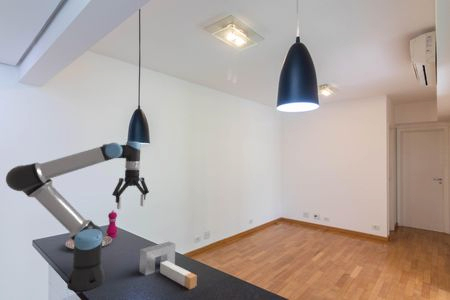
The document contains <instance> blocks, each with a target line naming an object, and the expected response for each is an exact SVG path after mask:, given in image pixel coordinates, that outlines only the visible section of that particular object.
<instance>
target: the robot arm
mask: <svg viewBox="0 0 450 300" xmlns="http://www.w3.org/2000/svg"><path fill="white" fill-rule="evenodd" d="M114 159H125V165H124V166H125V170H124V178H123V177H120V178H118V183H117V184H116V186H115V188H114V190H113V192H112V195H111V196H113V197H115V203H116V209H117V210H121V209H122V197H121V195H122V194H123V193H124V192H125V190H126V189H127V188H128V187H132V186H133V187H136V188H137V190H138V191H140V193H141V194H140V200H139V201H140V203H139V204H140V206H141V207H145V200H146V197H147V195H148V194H149V192H150V190H149V189H148V187H147V184H146V182H145V177H140V167H141V166H140V162H141V142H139V141H126V143H125V144H119V143H118V142H110V143H104V144H102V145H101V146H98V147H97V146H96V147H94V148H91V149H87V150H83V151H81V152H78V153H74V154H70V155H67V156H63V157H60V158H59V157H58V158H56V159H53V160H49V161H46V162H43V163H39V162H34V163H29V164H25V165H23V164H22V165H17V166H15V167H13V168H11V169H10V170H9V171H8V172H7V173H6V176H5V182H6V185H7V186H8V187H9V188H10V189H12V190H13V191H17V192H23V193H24V194H25V195H26V196H27V197H28V198H35V200H36V201H37V202H38V203H40V204H41V206H43V207H44V209H45V210H46V211H48V212H49V214H51V215H52V216H53V217H54V218H55V219H56V220H57V221H58V222H59V223H60V224H61V225H62V226H63V227H64V228H65V229H66V230H67V231H68V232H69V239H70V240H71V239H72V240H73V241H74V249H73V258H72V260H73V261H72V270H71V272H70V274H69V277H68V280H67V286H66V287H67V289H68V290H70V291H72V292H84V290H85V291H89V290H92V289H95V288H97V287H100V286H101V285H102V284H103V283H105V278H106V277H105V271H104V269H103V265H102V254H103V246H102V242H103V236H105V235H104V232H103V229H102V227H100V226H99V225H97V224H95V223H94V222H93V221H92V220H91V219H86V218H84V217H83V215H81V213H79V212H78V211H77V210H76V208H75V207H74V206H73V205H72V204H71V203H70V202H68V201H69V200H66V199H65V197H64V196H63V195H62V194H61V193H60V192H59V191H58V190H57V189H56V188H55V187H54V186H53V180H52V179H53V178H56V177H60V176H63V175H66V174H69V173H72V172H76V171H78V170H81V169H82V170H83V169H85V168H87V167H92V166H94V165H97V164H100V163H103V162H106V161H110V160H114ZM139 181H140V182H139ZM123 183H124V184H123ZM122 185H123V186H122Z"/></svg>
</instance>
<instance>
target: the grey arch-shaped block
mask: <svg viewBox="0 0 450 300" xmlns="http://www.w3.org/2000/svg"><path fill="white" fill-rule="evenodd" d="M139 251H140V252H139V270H138V271H139V273H141V274H142V275H144V276H148V275H151V274H154V273H155V271H156V258H159V257H160V263H161V262H164V261H169V262H171V263H173V264H175V265H176V243H174V242H172V241H166V242H162V243H159V244H154V245H151V246H147V247H144V248H140V249H139Z"/></svg>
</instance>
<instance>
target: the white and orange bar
mask: <svg viewBox="0 0 450 300" xmlns="http://www.w3.org/2000/svg"><path fill="white" fill-rule="evenodd" d="M159 264H160V266H159V273H160V274H162V275H163V276H164V277H165V276H166V277H167V278H169V279H170V280H172V281H174V282H176V283H178V284H179V285H181V286H183V287H185V288H187V289H188V290H191V289H194V288H196V287H197V285H198V284H197V283H198V282H197V281H198V275H197V274H195V273H193V272H190V271H189V270H187V269H185V268H183V267H182V266H181V267H180V266H178V265H176V263H175V264H173V263H171V262H169V261H164V262H161V261H160V263H159ZM195 286H196V287H195Z"/></svg>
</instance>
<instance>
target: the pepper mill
mask: <svg viewBox="0 0 450 300" xmlns="http://www.w3.org/2000/svg"><path fill="white" fill-rule="evenodd" d="M107 218H108V221H109V223H108V226H107V229H106V234H107V235H106V236H109V237H111V238H112V239H115V238H117V232H118V228H117V225H116V221H117V218H118V214H117V212H115V210H114V209H112V210H111V212H109V213H108V216H107Z"/></svg>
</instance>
